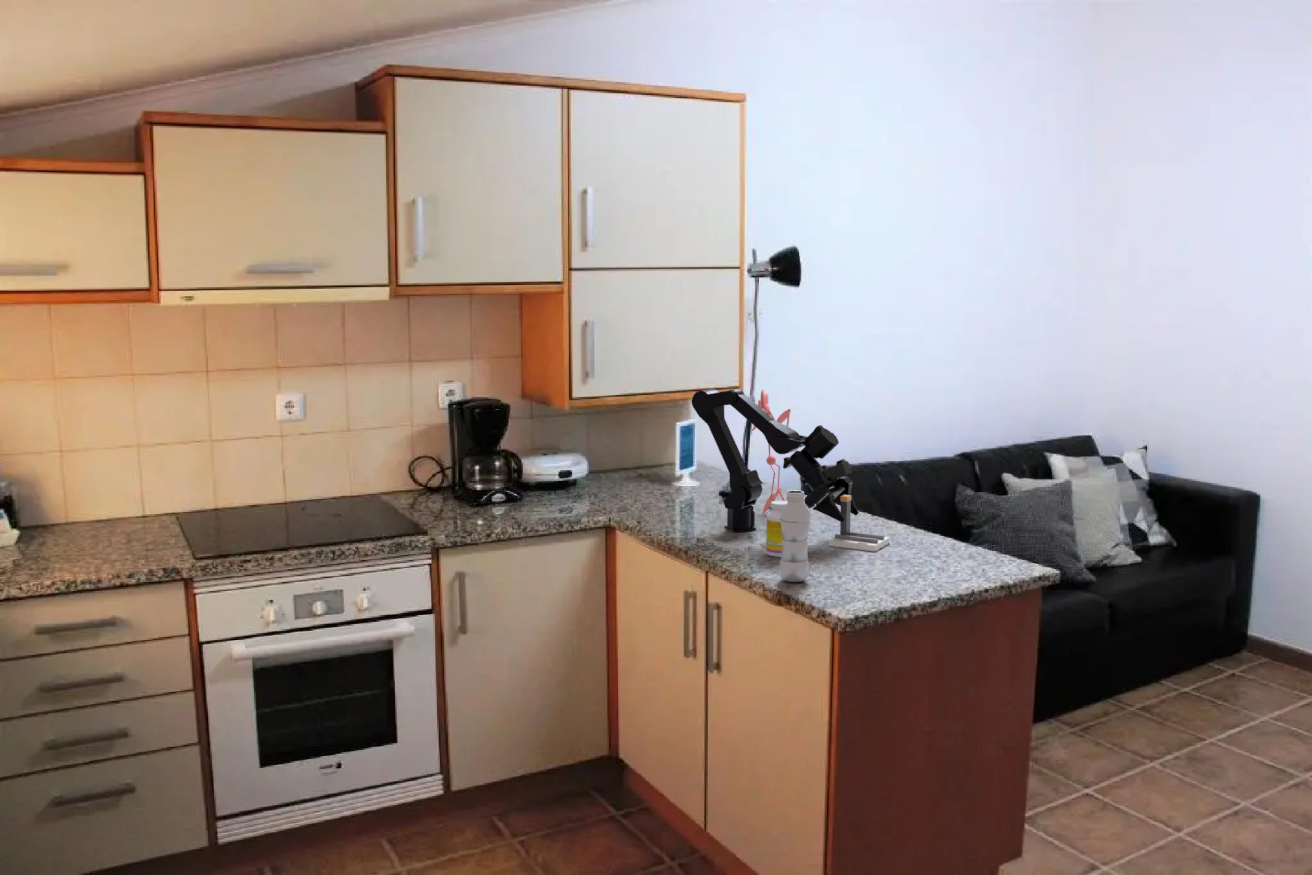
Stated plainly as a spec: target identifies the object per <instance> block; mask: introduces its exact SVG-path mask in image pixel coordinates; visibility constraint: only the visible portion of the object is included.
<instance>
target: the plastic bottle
mask: <svg viewBox="0 0 1312 875" xmlns="http://www.w3.org/2000/svg"><path fill="white" fill-rule="evenodd" d="M785 501H788V503H787V504H786V506H785V507H784V508H783V510H782V512H781V515H780V519H781V527H782V539H783V541H782V554H781V557H780V560H779V566H778V572H779V573H778V574H779V577H780V579H781V580H782V581H784V582H785V581H786V582H790V583H799V582H804V581H806V580H807V579H808V578H809V576H810V563H809V555H808V538H809V531H810V524H811V516H812V515H811V513H810V511H809V508H808V507H807V505H806V504H805V491H803V490H787V491H786V500H785Z"/></svg>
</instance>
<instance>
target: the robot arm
mask: <svg viewBox="0 0 1312 875" xmlns="http://www.w3.org/2000/svg"><path fill="white" fill-rule="evenodd" d="M691 405H692V407H693V409H694V411H695V412H696V414H697V415H698V417H699V418H700V419H702V421H703V422H704V423H706V425H707V426H708V428H709V431H710V432H711V435H712V437H713V440H714V442H715V444H716V446H717V449H718V452H719V454H720V456H721V457H722V460H723V462H724V464H725V467H726V469H727V470H728V474H729V489H730V492H731V493H729V495H727V496H726V498H724V499H723V505H724V507H725V509H726V511H727V512H726V518H727V519H726V523H727V524H726V525H724V527H723V528H724V529H726V530H729V531H731V530H732V531H731V532H734V533H742V532H751V531H752V532H753V531H756V530H757V527H755V526H756V525H755V524H756V522H755V518H756V517H755V516H756V512H755V511H754V506H755V505H756V503H757V501H758V499H759V498H760V496H762V492H763V485H762V484H763V483H764V482H763V481H762V480H761V479H760V476H759V473H758V471H757V469H754V470H751V469H749V468H748V467H747V465H746V463H745V461H744V459H743V457H742V454H741V452H740V450H739V447H738V446H737V443H736V440H735V438H734V436H733V435H732V434H733V433H732V431H731V429H730V427H729V425H728V423H727V421H726V418H725V406H731V407H732V408H733V409H735V410H736V411H737V412H738V413H739V414H740V415H741V416H743V418H745V419H746V420H747V421H748V422H749V423H750V424H752V425H753V426H755V427H756V429H757V430H758V431H760V432H761V433H762V434H763V436H764V438H765V440H766V442H767V444H768V443H769V445H770V448H772V449H773V451H774V452H775V453H777V454H778V455H786V454H787V455H788V454H790V453H792V454H791V456H787V457H784V458H783V465H782V468H783V469H784V470H785V469H786V470H787V469H788V468H791V467H792V468H793V469H794V470H795V471H796V472H797V474H798V475H799V476H800V478H802V480H803V481H801V483H802V485H804V486H805V485H808V487H809V488H810V489H811V492H809V494H807V495H806V496H804V498H805V500H804V504H805V506H806V507H807V509H808V510H809V509H812V510H813V511H817V512H819V513H821V514H824V515H826V516H829V517H830V518H832V519H834V520H837V521H838V522H839V523H840V522H843V521H844V520H845V518H844V517H843V515H842V513H841V509H839V508H838V506H837V505H839V506H840V507H841V501H840V496H843V495H851V513H850V514H852V515H854V516H857V515H859V510H858V508H857V506H856V503H855V501H854V498H853V496H852V488H853V481H852V479H851V478H850V476H847V475H849V474H852V469H851V468H852V464H851V463H849V461H847V460H846V459H845V458H842V459H839V460H837V461H835V462H836V463H835V465H834V466H830V467H828V466H827V465H826V464H824V465H822V464H821V463H820V462H819V461H818V460H817V459H821V460H822V459H824V458H826V456H828V454H830V453H831V452H832V450H834V449H835V448H836V447H837V445H839V439H838V437H837V436H836V434H834V432H832V431H830V430H829V429H827V428H825V427H824V426H823V425H822V424H821V425H820V424H818V425H817V426H816V427H815V428H814V430H813V431H812V432H811V433H809V434H808V435H807V436H806V435H801V434H799V433H798V432H797V431H796V430H795V429H793V428H791V427H790V426H789V425H788V426H787V424H783V423H779V422H777V420H776V419H775V418H774V419H775V420H776V421H775V420H774V419H773V418H772V417H771V415H770V416H769V415H768V414H767V413H766V412H765V411H763V410H762V409H761V408H760V407H759V406H758V403H756V402H754V400H752V398H750V397H748V396H747V395H746V394H745V393H744V391H743V390H742V389H740V388H735V389H730V390H725V391H724V390H723V391H718V390H717V389H714V388H708V389H703V390H698V391H696V392H695V393H694V394H693V396H692V399H691ZM802 447H803V448H802ZM800 448H802V449H801V450H798V449H800ZM836 504H837V505H836Z"/></svg>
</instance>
